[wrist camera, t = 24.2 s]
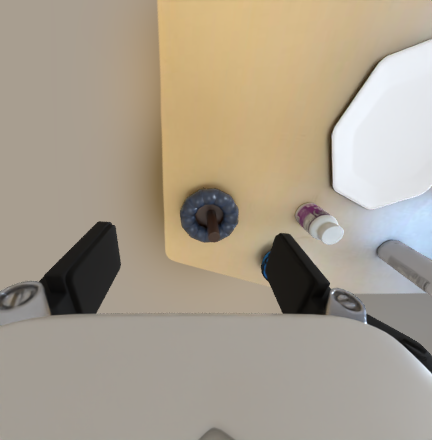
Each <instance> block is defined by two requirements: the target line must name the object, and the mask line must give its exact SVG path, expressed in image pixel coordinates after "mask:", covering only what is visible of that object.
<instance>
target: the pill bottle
mask: <svg viewBox="0 0 432 440" xmlns="http://www.w3.org/2000/svg"><path fill="white" fill-rule="evenodd" d="M295 218H296V220H297V222H298V223H299V224H300V225H301V226H302V227H303V228H304V229H305V230H306V231H307V232H308V233H309V234H310V235H311V236H312V237H313V238H315V239H318V240H321V241H322V242H323V243H325V244H328V245H331V244H335V243H337V242H338V241H339V240H340V239H341V238H342V237H343V234H344V231H343V229H342V228H341V227H340V226H339V225H338V222H337V220H336V219H335V218H334V217H333V216H332V215H330V214H329V213H327V212H326V211H324V210H323V209H321V208H320V207H318V206H317V205H315V204H313V203H306V204H303V205H301V206H300V207H299V208H298V209H297V211H296V214H295Z"/></svg>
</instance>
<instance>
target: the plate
mask: <svg viewBox="0 0 432 440" xmlns="http://www.w3.org/2000/svg"><path fill="white" fill-rule="evenodd" d="M331 156H332V187H333V188H334V190H335V191H336V192H338V193H340V194H341V195H343V196H345V197H347V198H348V199H350V200H352V201H354V202H355V203H357V204H359V205H361V206H362V207H364V208H366V209H368V210H374V209H377V208H380V207H384V206H387V205H390V204H393V203H396V202H400V201H403V200H406V199H409V198H412V197H416V196H419V195H421V194H422V193H424V192H426V191H427V190H428V189H429V188H430V187H431V186H432V39H431V40H428V41H425V42H423V43H420V44H417V45H415V46H412V47H409V48H407V49H404V50H401V51H399V52H396V53H393V54H391V55H388V56H386V57H385V58H384V59H382V60H381V61H380V62H379V63H378V64H377V65H376V67H375V68H374V70H373V71H372V72H371V74H370V75H369V77H368V78H367V80H366V81H365V83H364V84H363V86H362V87H361V88H360V90H359V91H358V93H357V94H356V96H355V97H354V99H353V100H352V101H351V103H350V104H349V106H348V107H347V109H346V110H345V112H344V113H343V114H342V116H341V117H340V119H339V120H338V122H337V123H336V125H335V126H334V128H333V131H332V134H331Z"/></svg>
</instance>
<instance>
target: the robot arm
mask: <svg viewBox="0 0 432 440" xmlns="http://www.w3.org/2000/svg"><path fill="white" fill-rule="evenodd" d="M120 266H121V262H120V255H119V248H118V241H117V234H116V228H115V225H112V223H111V222H97V223H96V224H95V225H94V226H93V227H92V229H90V230H89V231H88V232H87V233H86V234H85V235H84V236H83V237H82V238H81V239H80V240H79V241H78V242H77V243H76V244H75V245H74V246H73V247H72V248H71V249H70V250H69V251H68V252H67V253H66V254H65V255H64V256H63V257H62V258H61V259H60V260H59V261H58V262H57V263H56V264H55V265H54V266H53V267H52V268H51V269H50V270H49V271H48V272H47V273H46V274H45V275H44V277H43V278H42V279H41V280H40V281H39V282H37V281H26V282H21V283H17V284H14V285H12V286H9V287H7V288H5V289H4V290H1V291H0V440H432V356H431V354H430V353H429V352H428V351H427V350H426V349H425V348H424V347H423V346H422V345H421V344H419V343H418V342H417V341H415V340H413V339H412V338H410V337H408V336H406V335H404V334H403V333H401V332H399V331H397V330H395V329H394V328H391V327H390V326H388V325H386V324H384V323H382V322H381V321H379V320H377V319H375V318H373V317H371V316H370V315H368V314H366V309H365V306H364V304H363V303H362V301H361V300H360V299H359V298H358V297H356V296H355V295H354V294H352V293H350V292H349V291H346V290H344V289H340V288H333V289H330V287H329V285H330V282H329V281H328V280H327V279H326V278H325V276H324V275H323V274H322V273H321V271H320V270H319V269H318V268H317V267H316V265H315V264H314V263H313V262H312V260H311V259H310V258H309V257H308V256H307V254H306V253H305V252H304V251H303V250H302V248H301V247H300V246H299V245H298V243H297V242H296V241H295V240H294V239H293V237H292V236H291V235H290V234H285V233H280V234H278V235H277V236H276V237H275V239H274V242H273V246H272V249H271V252H270V255H269V258H268V261H267V264H266V267H265V274H266V277H267V279H268V281H269V283H270V286H271V288H272V290H273V292H274V295H275V297H276V299H277V302H278V304H279V306H280V308H281V310H282V313H283V314H262V313H261V314H260V313H259V314H258V313H254V314H253V313H251V314H250V313H113V314H112V313H111V314H108V313H107V314H96V313H97V310H98V309H99V307H100V305H101V303H102V301H103V299H104V298H105V295H106V294H107V292H108V290H109V288H110V286H111V284H112V282H113V281H114V279H115V277H116V275H117V273H118V271H119V269H120Z"/></svg>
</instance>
